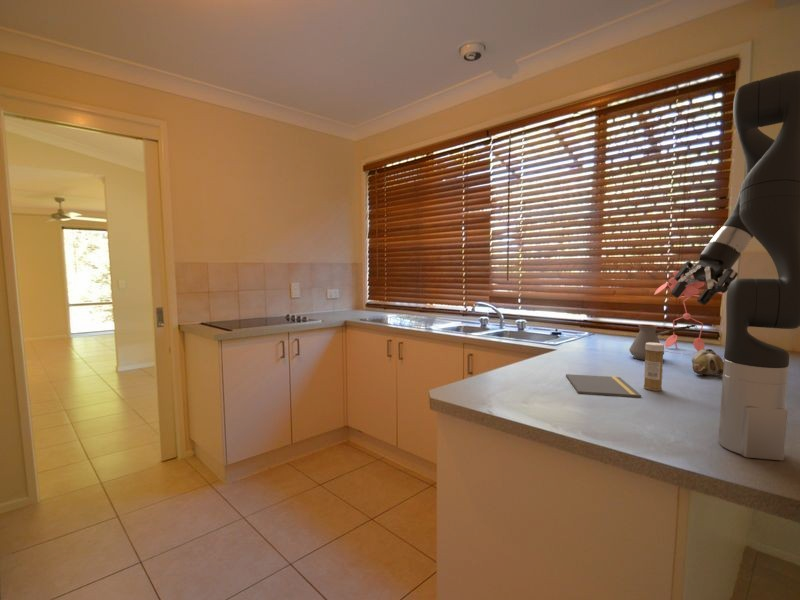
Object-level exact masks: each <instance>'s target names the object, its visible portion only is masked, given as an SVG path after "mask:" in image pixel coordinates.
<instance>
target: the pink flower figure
mask: <svg viewBox="0 0 800 600" xmlns="http://www.w3.org/2000/svg"><path fill="white" fill-rule="evenodd" d="M679 271H680V270H675V271H674V270H673V272H672V273H673V276H674V277H675V276H676V275H677V273H678V272H679ZM682 276H683V274H682V275H681V277H680V278H682ZM674 277H670V278H669V279H668V282H666V283H663V284H662V285H660V286H659V287H658V288H657V289H656V290H655V292H654V294H653V295H654V296H656V295H658V294H659V293H661V292H663V291H664V290H665V289H666V288H667V287H668V288H669V289H670V291H672V290H673V289H674V288H675V286H676V285H677V283H678V281H676V280H675V279H674ZM692 277H693V278H694V276H693V275H692ZM688 280H689V279H687V280H685V282H686V281H688ZM669 283H670V284H671V285H670V284H669ZM704 286H705V282H700V281H698V282H696V283H691V284H689V285H688V286H686V288H685V290H684V291H683V292H682V294H681V295H680V296H679V298H678V299H682V298H683V299H684V298H685V299H684V300H683V301H682V304H683V307H684V312H685V313H683V316H682V317H678V318H676V319H674V320H673V321H672V325H673V326H672V327H673V328H672V329H675V321H677V320H680V319H685V320H690V319H691V320H693V321H694V322H697V323H700V324H701V327H700V333H699V335H698V337H696V338H695V339H694V340H693V344H692V345H693V348H694V349H695V350H696V351H697V352H698V351H700V350H702V349H705V346H706V344H705V342H704V340H703V339H702V338H701V335H702V331H703V326H704V323H703V322H701V321H699V320H697V319H694V318H693V317H692V315H691V313H688V311H687V306H686V303H685V302H686V301H688V300H689V299H690V298H691V299H692V297H697V298H699V297H700V296H701V295H698V294H700V288H702V287H704ZM717 294H719V295H723V294H724V293H722V292H718V293H717ZM682 295H683V296H682ZM672 333H673V334H671V335H670V336H669V337H668V338H666V340H665V342H664V349H667V348H669V347H671V346H673V345H675V349H677V348H678V345H677V340H678V339H679V338H678V335H677V334H675V332H672ZM665 352H668V353H669V351H668V350H665ZM670 353H672V354H674V351H673V352H671V351H670ZM676 354H678V355H679V354H680V353H679V352H678V353H677V352H676ZM684 355H686V356H689V354H687V353H684Z"/></svg>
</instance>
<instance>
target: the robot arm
mask: <svg viewBox="0 0 800 600" xmlns="http://www.w3.org/2000/svg"><path fill="white" fill-rule="evenodd" d="M732 104H733V108H732V114H733V123H734V127H735V130H736V134H737V136H738V137H737V138H738V141H739V144H740V148H741V150H742V153H743V156H744V161H745V173H746V175H745V178H744V179H743V181H742V183H741V185H740V190H739V192H738V197H737V200H736V203H735V205H734V207H733V209H732V211H731V213H730V215H729V217H728V218H727V220H726V221H725V222H724V223H723V225H722V226H721V228H720V229H719V230H718V231H717V232H716V233H714V235H713V237H712V238H711V239H710V241H709V242H708V243H707V245H706V246H705V247H704V249H703V250H702V251H701V253H700V254H699V260H698V262H696V263H692V262H690V261H689V260H688V261H686V262H685V263H684V264H683V266H682V267H681V268H680V269H679V270H678V271H679V272H678V273H677V275H676V276H674V279H675V280H676V281H678V283H677V285H676V286H675V288H674V289H673V290H671V295H672V296H673V297H674V298H675V299H680V298H679V296H680V295H681V294H682V292H683V291H684V290H685V288H686V286H688V285H689V284H691V283H696V282H698V281H700V282H704V283H706V284H707V285H706V287H707V288H705V289H704V291H702V293H701V294H700V295H699V296H700V297H697V299H696V300H697V303H699V305H700V304H701V305H702V306H705V305H706V304H708V303H709V302H710V301H711V299H712V298H713V297H714V296H715V294H719V293H718V292H722V293H723V294H724V293H726V300H725V303H726V304H725V307H726V308H725V311H726V312H725V313H726V314H725V315H726V319H725V321H726V323H725V324H726V325H725V327H726V329H725V332H726V333H725V343H724V345H725V346H724V354H723V362H724V366H723V375H722V381H721V395H720V396H721V397H720V406H719V407H720V410H719V420H718V421H719V422H718V423H719V424H718V439H717V441H718V443H719V445H720V446H722V447H723V448H725V449H726V450H729V451H731V452H733V453H736V454H739V455H740V456H742V457H744V458H753V459H762V460H770V461H771V460H774V461H784V457H785V447H786V435H787V424H788V423H787V422H788V411H787V409H786V398H787V385H788V377H789V376H788V375H789V366H790V365H789V364H790V353H789V351H787V350H786V349H784V348H782V347H779V346H777V345H773V344H771V343H767V342H765V341H762V340H760V339H758V338H756V337H755V336H753V335H752V334H751V333H750V332H748V328H749V327H750V328H751V327H752V328H767V329H781V330H794V329H798V328H799V327H800V70H793V71H788V72H783V73H781V74H776V75H773V76H769V77H766V78H762V79H760V80H759V79H758V80H754V81H751V82H748V83H746V84H742V85H741V86H740V87H738V88H737V90H736V91H735V94H734V99H733V103H732ZM777 124H782V125H781V127H780V129H779V132H778V134H777V135H776V138H775V139H774V138H772V137H770V136H769V135H767V134H765V133H764V132H763V131H762V130H760V129H759V128H763V127H767V126H772V125H777ZM753 238H754V239H756V241H758V242H759V243H760V245H762V247H763V248H764V249H765V250H766V252H767V253H768V255H769V256H770V258H771V259H772V261H773V263H774V266H775V268H776V272H777V277H778V278H737V277H738V275H739V274H738V272H737V271H735V270H734V269H733V266H734V265H735V264H736V263H737V261H738V260H739V259H740V257H741V256H742V254H743V253H744V252H745V250H746V249H747V247H748V245H749V244H750V242H751V240H752V239H753ZM682 274H683V276H682V278H680V277H681V275H682ZM692 275H693V276H694V278H693V277H692ZM687 279H689V280H688V281H686V282H685V280H687ZM682 295H683V294H682ZM680 297H681V296H680Z"/></svg>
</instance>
